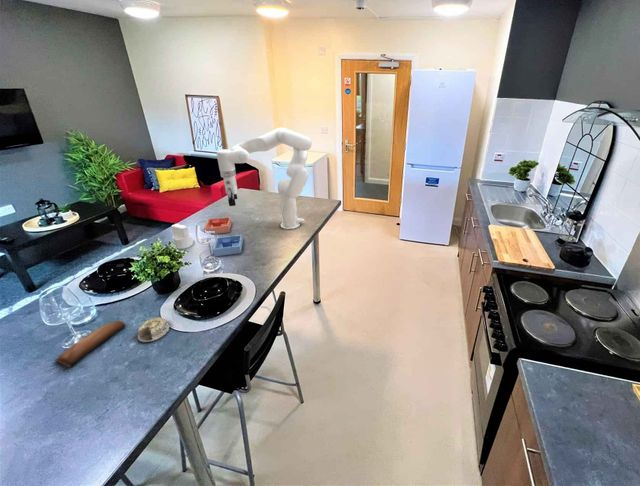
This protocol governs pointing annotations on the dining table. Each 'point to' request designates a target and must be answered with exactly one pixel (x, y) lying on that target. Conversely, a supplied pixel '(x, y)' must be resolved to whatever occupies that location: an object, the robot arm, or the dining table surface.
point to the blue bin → (234, 249)
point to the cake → (152, 329)
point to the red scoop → (218, 223)
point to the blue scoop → (228, 242)
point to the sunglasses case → (89, 343)
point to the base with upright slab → (182, 236)
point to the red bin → (221, 229)
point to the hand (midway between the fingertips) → (233, 202)
